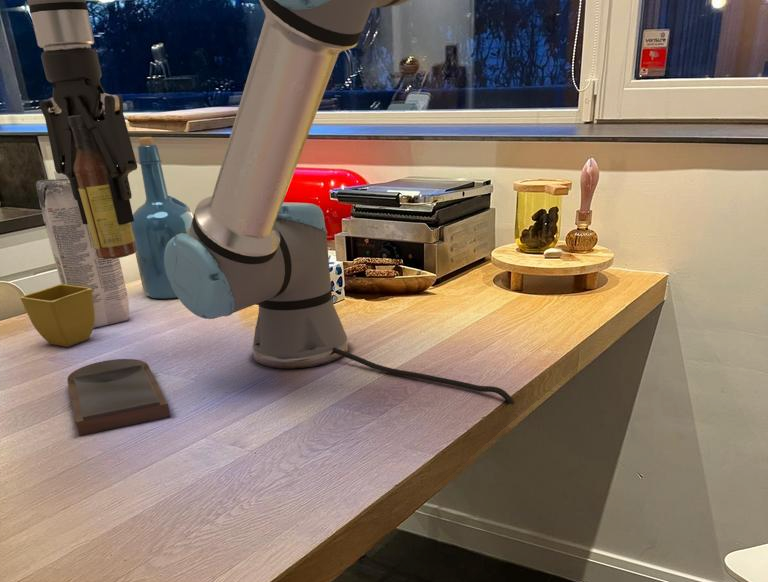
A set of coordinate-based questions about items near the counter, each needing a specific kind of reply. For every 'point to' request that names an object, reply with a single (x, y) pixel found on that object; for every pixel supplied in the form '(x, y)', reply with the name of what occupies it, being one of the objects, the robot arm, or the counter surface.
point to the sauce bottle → (98, 195)
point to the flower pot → (61, 313)
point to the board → (115, 395)
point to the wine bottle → (156, 223)
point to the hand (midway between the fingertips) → (108, 222)
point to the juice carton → (81, 252)
